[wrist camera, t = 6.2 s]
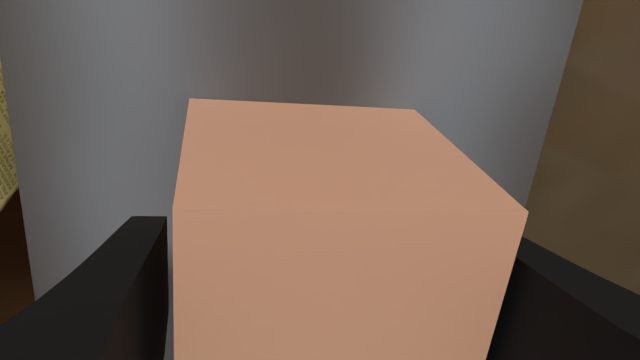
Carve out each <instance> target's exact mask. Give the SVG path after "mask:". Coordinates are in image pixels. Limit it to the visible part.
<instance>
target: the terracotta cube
mask: <svg viewBox="0 0 640 360" xmlns="http://www.w3.org/2000/svg"><path fill="white" fill-rule="evenodd" d="M528 213H529V212H528V211H527V210H526V209H525V208H524V207H523V206H521V205H520V204H519V203H518V202H517V201H516V200H515V199H514V198H513V197H511V196H510V195H509V194H508V193H507V192H506V191H505V190H504V189H503V188H501V187H500V186H499V185H498V184H497V183H496V182H495V181H494V180H493V179H491V178H490V177H489V176H488V175H487V174H486V173H485V172H484V171H483V170H481V169H480V168H479V167H478V166H477V165H476V164H475V163H474V162H473V161H471V160H470V159H469V158H468V157H467V156H466V155H465V154H464V153H463V152H461V151H460V150H459V149H458V148H457V147H456V146H455V145H454V144H453V143H451V142H450V141H449V140H448V139H447V138H446V137H445V136H444V135H443V134H441V133H440V132H439V131H438V130H437V129H436V128H435V127H434V126H433V125H431V124H430V123H429V122H428V121H427V120H426V119H425V118H424V117H422V116H421V115H420V114H419V113H418V112H417V111H416V110H413V109H394V108H375V107H356V106H336V105H316V104H295V103H275V102H255V101H235V100H215V99H195V98H189V104H188V110H187V117H186V123H185V130H184V136H183V143H182V149H181V156H180V162H179V169H178V175H177V182H176V189H175V195H174V202H173V208H172V215H173V315H174V360H486V357H487V353H488V350H489V347H490V343H491V340H492V336H493V333H494V329H495V326H496V322H497V319H498V316H499V312H500V309H501V305H502V302H503V298H504V295H505V292H506V288H507V285H508V281H509V278H510V274H511V271H512V268H513V264H514V261H515V257H516V254H517V250H518V247H519V244H520V240H521V237H522V233H523V230H524V226H525V223H526V219H527V216H528Z"/></svg>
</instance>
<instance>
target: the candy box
mask: <svg viewBox="0 0 640 360" xmlns="http://www.w3.org/2000/svg"><path fill="white" fill-rule="evenodd" d="M18 190H19V186H18V179H17V172H16V165H15V158H14V151H13V144H12V137H11V130H10V123H9V116H8V109H7V102H6V95H5V89H4V82H3V75H2V68H1V61H0V212H1V210H2V209H3V208H4V207H5V205H6V204H7V203H8V202H9V200H10V199H11V198H12V197H13V196H14V195H15V193H16V192H17V191H18Z"/></svg>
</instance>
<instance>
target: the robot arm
mask: <svg viewBox="0 0 640 360" xmlns="http://www.w3.org/2000/svg"><path fill="white" fill-rule="evenodd" d="M168 314H169V285H168V240H167V216H131V217H130V218H129V219H128V220H127V221H126V222H125V223H124V224H123V225H121V226H120V227H119V228H118V229H117V230H116V231H115V232H114V233H113V234H112V235H111V236H110V237H109V238H108V239H107V240H106V241H105V242H104V243H103V244H102V245H101V246H100V247H99V248H97V249H96V250H95V251H94V252H93V253H92V254H91V255H90V256H89V257H88V258H87V259H85V260H84V261H83V262H82V263H81V264H80V265H79V266H78V267H77V268H75V269H74V270H73V271H72V272H71V273H70V274H69V275H68V276H66V277H65V278H64V279H63V280H61V281H60V282H59V283H58V284H56V285H55V286H54V287H53V288H51V289H50V290H49V291H48V292H46V293H45V294H44V295H43V296H41V297H40V298H39V299H38V300H36V301H35V302H34V303H32V304H31V305H30V306H28V307H27V308H26V309H24V310H23V311H21V312H20V313H18V314H17V315H16V316H14V317H13V318H11V319H10V320H8V321H7V322H5V323H4V324H2V325H1V326H0V360H164V355H165V345H166V335H167V325H168ZM486 360H640V295H639V294H636V293H634V292H632V291H630V290H628V289H625V288H623V287H621V286H619V285H617V284H615V283H613V282H611V281H608V280H606V279H604V278H602V277H600V276H598V275H596V274H594V273H592V272H590V271H588V270H586V269H584V268H582V267H580V266H578V265H576V264H574V263H572V262H570V261H568V260H566V259H564V258H562V257H560V256H558V255H556V254H555V253H553V252H551V251H549V250H547V249H545V248H543V247H541V246H539V245H537V244H535V243H534V242H532V241H530V240H528V239H526V238H524V237H521V240H520V244H519V247H518V250H517V254H516V257H515V261H514V264H513V268H512V271H511V274H510V278H509V281H508V285H507V288H506V292H505V295H504V298H503V302H502V305H501V309H500V312H499V316H498V319H497V322H496V326H495V329H494V333H493V336H492V340H491V343H490V347H489V350H488V353H487V357H486Z"/></svg>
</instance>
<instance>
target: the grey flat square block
mask: <svg viewBox="0 0 640 360" xmlns="http://www.w3.org/2000/svg"><path fill="white" fill-rule="evenodd" d="M582 4H583V0H0V61H1V68H2V75H3V82H4V89H5V95H6V102H7V109H8V116H9V123H10V130H11V137H12V144H13V151H14V158H15V165H16V172H17V179H18V186H19V192H20V199H21V206H22V213H23V220H24V227H25V234H26V241H27V248H28V255H29V262H30V269H31V276H32V283H33V290H34V296H35V301H36V300H38V299H39V298H40V297H41V296H43V295H44V294H45V293H46V292H48V291H49V290H50V289H51V288H53V287H54V286H55V285H56V284H58V283H59V282H60V281H61V280H63V279H64V278H65V277H66V276H68V275H69V274H70V273H71V272H72V271H73V270H74V269H75V268H77V267H78V266H79V265H80V264H81V263H82V262H83V261H84V260H85V259H87V258H88V257H89V256H90V255H91V254H92V253H93V252H94V251H95V250H96V249H97V248H99V247H100V246H101V245H102V244H103V243H104V242H105V241H106V240H107V239H108V238H109V237H110V236H111V235H112V234H113V233H114V232H115V231H116V230H117V229H118V228H119V227H120V226H121V225H123V224H124V223H125V222H126V221H127V220H128V219H129V218H130V217H131V216H167V240H168V285H169V314H168V325H167V335H166V345H165V355H164V360H174V315H173V215H172V208H173V202H174V195H175V189H176V182H177V175H178V169H179V162H180V156H181V149H182V143H183V136H184V130H185V123H186V117H187V110H188V104H189V98H195V99H215V100H235V101H255V102H275V103H295V104H316V105H336V106H356V107H375V108H394V109H413V110H416V111H417V112H418V113H419V114H420V115H421V116H422V117H424V118H425V119H426V120H427V121H428V122H429V123H430V124H431V125H433V126H434V127H435V128H436V129H437V130H438V131H439V132H440V133H441V134H443V135H444V136H445V137H446V138H447V139H448V140H449V141H450V142H451V143H453V144H454V145H455V146H456V147H457V148H458V149H459V150H460V151H461V152H463V153H464V154H465V155H466V156H467V157H468V158H469V159H470V160H471V161H473V162H474V163H475V164H476V165H477V166H478V167H479V168H480V169H481V170H483V171H484V172H485V173H486V174H487V175H488V176H489V177H490V178H491V179H493V180H494V181H495V182H496V183H497V184H498V185H499V186H500V187H501V188H503V189H504V190H505V191H506V192H507V193H508V194H509V195H510V196H511V197H513V198H514V199H515V200H516V201H517V202H518V203H519V204H520V205H521V206H523V207H524V208H525V207H526V203H527V200H528V196H529V192H530V189H531V185H532V182H533V178H534V175H535V171H536V168H537V164H538V160H539V157H540V153H541V150H542V146H543V143H544V139H545V136H546V132H547V128H548V125H549V121H550V118H551V114H552V111H553V107H554V103H555V100H556V96H557V93H558V89H559V86H560V82H561V79H562V75H563V71H564V68H565V64H566V61H567V57H568V54H569V50H570V46H571V43H572V39H573V36H574V32H575V29H576V25H577V22H578V18H579V14H580V11H581V7H582Z"/></svg>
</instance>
